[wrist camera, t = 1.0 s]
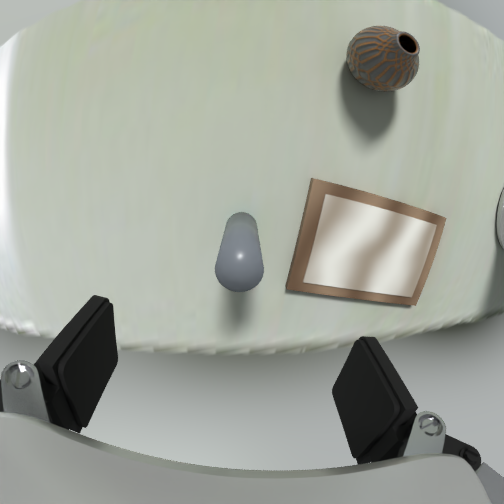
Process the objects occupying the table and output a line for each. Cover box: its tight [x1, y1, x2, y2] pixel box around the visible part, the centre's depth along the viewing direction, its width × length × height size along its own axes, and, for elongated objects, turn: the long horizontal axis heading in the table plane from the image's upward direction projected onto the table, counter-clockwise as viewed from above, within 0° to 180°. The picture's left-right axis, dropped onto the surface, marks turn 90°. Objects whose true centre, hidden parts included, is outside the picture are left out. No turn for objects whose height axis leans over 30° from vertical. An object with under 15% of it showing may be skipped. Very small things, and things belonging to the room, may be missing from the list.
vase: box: [347, 26, 420, 91], centre depth 19 cm, size 7×7×9 cm
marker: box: [215, 212, 264, 292], centre depth 23 cm, size 3×3×12 cm
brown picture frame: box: [286, 178, 446, 306], centre depth 29 cm, size 18×12×1 cm, turn 79°
